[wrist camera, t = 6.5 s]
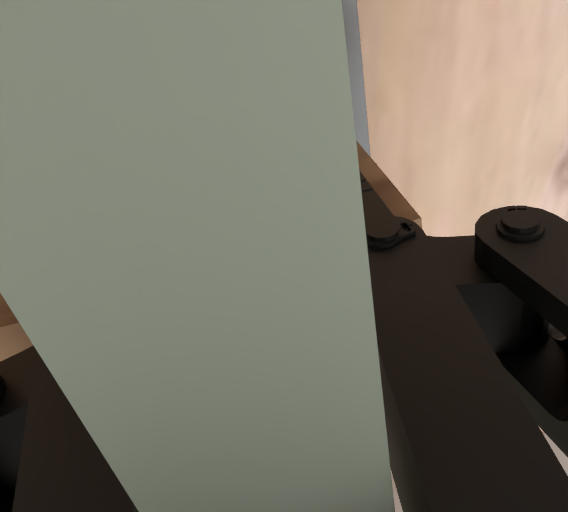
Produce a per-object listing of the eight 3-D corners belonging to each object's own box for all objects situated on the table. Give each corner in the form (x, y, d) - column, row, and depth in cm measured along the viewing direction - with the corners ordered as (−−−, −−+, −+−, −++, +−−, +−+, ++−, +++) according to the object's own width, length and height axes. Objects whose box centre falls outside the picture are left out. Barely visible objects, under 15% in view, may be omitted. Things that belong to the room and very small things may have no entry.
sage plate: (85, -142, 11) (-554, -586, 1) (177, -162, 11) (268, -705, 1) (241, 352, 20) (318, 797, 10) (293, 338, 20) (421, 764, 10)
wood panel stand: (28, 320, 32) (-40, 525, 21) (-138, 52, 23) (-401, 176, 12) (372, 231, 33) (470, 382, 23) (345, -57, 24) (488, -31, 13)
